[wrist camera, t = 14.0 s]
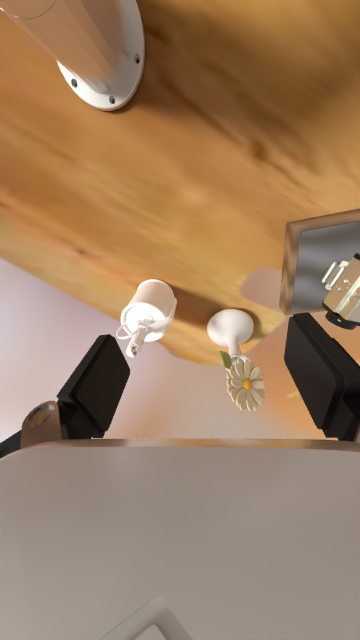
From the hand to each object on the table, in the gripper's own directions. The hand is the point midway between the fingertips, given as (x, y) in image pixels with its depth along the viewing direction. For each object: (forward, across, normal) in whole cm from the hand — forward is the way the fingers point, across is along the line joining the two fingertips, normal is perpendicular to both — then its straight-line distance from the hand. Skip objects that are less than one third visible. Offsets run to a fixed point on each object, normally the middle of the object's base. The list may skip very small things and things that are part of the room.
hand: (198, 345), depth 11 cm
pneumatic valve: (+29, -23, +10) cm, 38 cm away
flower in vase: (+34, -4, +22) cm, 40 cm away
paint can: (+34, +12, +12) cm, 38 cm away
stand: (+33, -22, +10) cm, 41 cm away
